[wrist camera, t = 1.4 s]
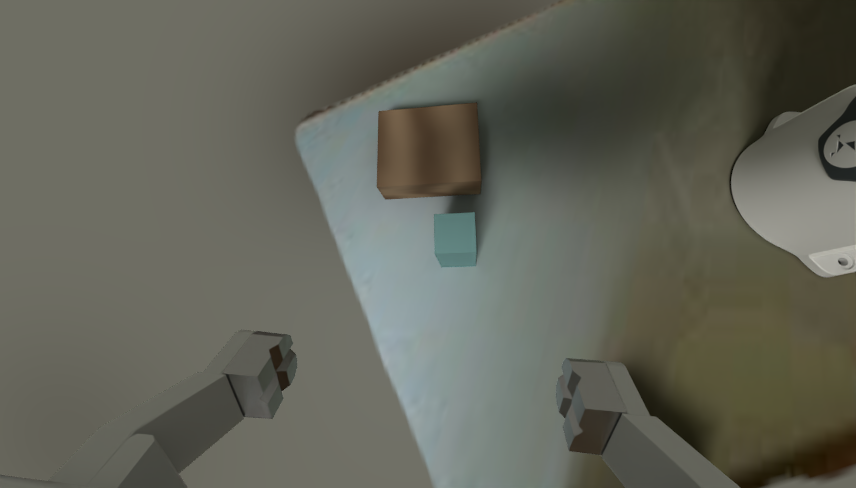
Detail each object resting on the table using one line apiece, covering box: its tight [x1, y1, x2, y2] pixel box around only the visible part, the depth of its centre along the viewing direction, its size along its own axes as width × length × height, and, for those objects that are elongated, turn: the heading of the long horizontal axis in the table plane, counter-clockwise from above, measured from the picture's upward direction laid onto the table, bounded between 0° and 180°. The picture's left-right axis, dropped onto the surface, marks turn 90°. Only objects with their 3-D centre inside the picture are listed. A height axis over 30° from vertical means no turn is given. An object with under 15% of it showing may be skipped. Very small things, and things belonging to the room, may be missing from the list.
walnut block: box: [377, 103, 481, 199], centre depth 42 cm, size 12×10×4 cm
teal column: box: [434, 212, 477, 267], centre depth 37 cm, size 4×4×8 cm
